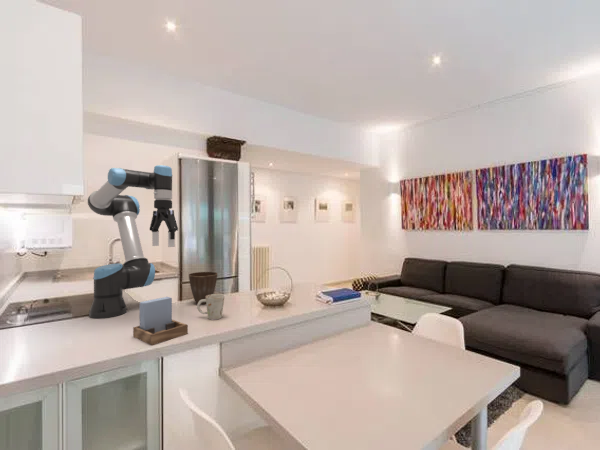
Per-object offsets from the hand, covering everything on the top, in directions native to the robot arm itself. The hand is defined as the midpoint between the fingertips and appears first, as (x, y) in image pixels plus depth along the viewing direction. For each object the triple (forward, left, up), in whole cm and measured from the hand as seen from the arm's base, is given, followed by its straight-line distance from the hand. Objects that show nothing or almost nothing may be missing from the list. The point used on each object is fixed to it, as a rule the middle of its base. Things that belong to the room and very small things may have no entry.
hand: (163, 246), depth 137 cm
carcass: (+20, -12, -33) cm, 40 cm away
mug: (+17, +13, -33) cm, 39 cm away
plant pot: (-8, +27, -33) cm, 43 cm away
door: (+16, -12, -32) cm, 38 cm away
